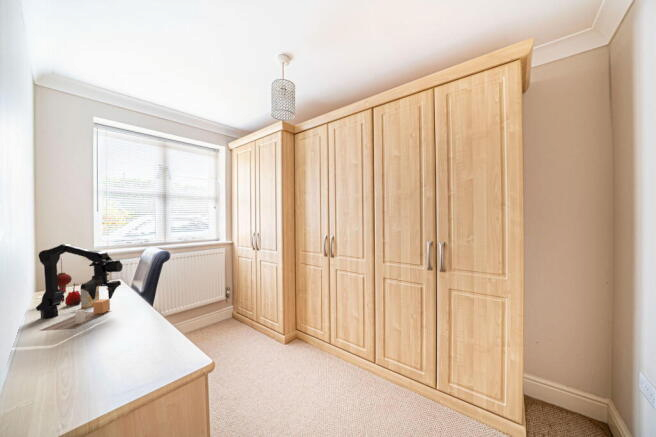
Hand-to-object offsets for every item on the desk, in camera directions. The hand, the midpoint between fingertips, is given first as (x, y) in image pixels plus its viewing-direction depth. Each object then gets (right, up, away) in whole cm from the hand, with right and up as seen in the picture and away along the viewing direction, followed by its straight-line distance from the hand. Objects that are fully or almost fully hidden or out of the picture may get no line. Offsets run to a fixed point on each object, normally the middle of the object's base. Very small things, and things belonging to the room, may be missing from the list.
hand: (101, 299), depth 151 cm
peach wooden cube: (0, -7, 0) cm, 7 cm away
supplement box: (-21, -10, +16) cm, 28 cm away
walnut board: (-4, -9, -10) cm, 14 cm away
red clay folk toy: (-36, -10, +19) cm, 42 cm away
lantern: (-50, -10, +26) cm, 57 cm away
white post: (+1, -9, -14) cm, 17 cm away
